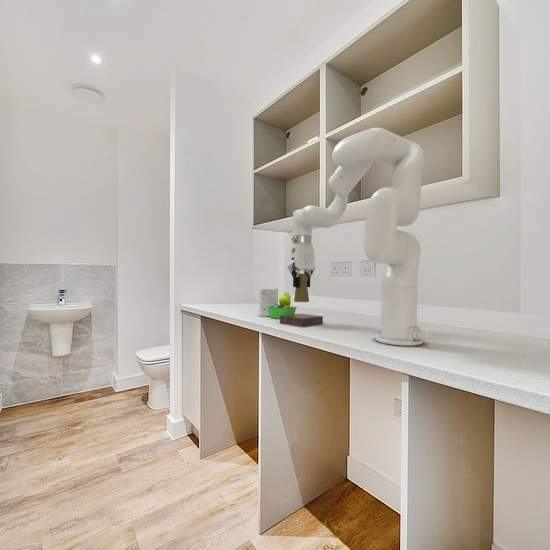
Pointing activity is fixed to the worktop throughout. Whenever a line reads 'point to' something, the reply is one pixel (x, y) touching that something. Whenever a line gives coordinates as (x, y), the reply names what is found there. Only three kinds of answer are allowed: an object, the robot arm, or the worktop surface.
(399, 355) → the worktop surface
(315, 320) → the block
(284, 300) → the fruit basket
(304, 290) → the olive tapered cylinder
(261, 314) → the small box
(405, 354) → the worktop surface
